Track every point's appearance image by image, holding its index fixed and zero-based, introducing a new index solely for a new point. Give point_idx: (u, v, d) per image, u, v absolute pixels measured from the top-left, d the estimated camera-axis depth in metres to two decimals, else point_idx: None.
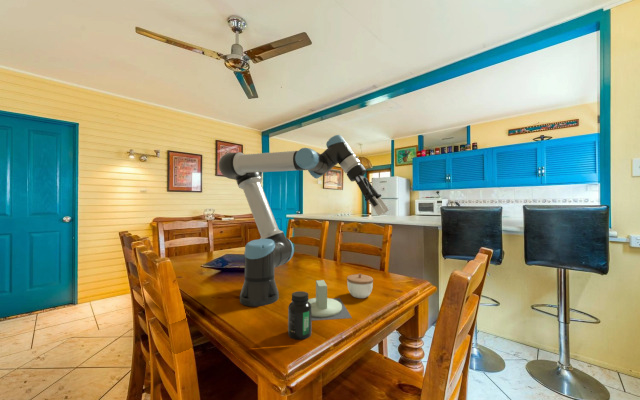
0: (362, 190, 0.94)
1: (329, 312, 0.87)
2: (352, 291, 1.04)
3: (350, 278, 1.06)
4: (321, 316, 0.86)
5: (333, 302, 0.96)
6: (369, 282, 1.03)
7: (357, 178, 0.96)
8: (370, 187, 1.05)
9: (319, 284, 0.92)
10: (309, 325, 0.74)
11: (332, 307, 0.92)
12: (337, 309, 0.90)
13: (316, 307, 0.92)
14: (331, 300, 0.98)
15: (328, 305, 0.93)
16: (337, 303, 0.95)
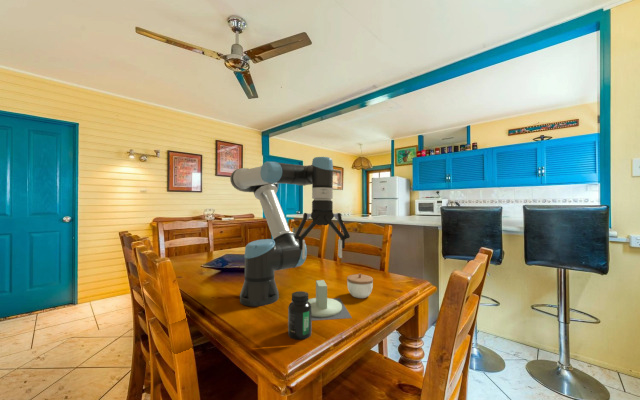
0: (297, 229, 0.93)
1: (329, 312, 0.87)
2: (352, 291, 1.04)
3: (350, 278, 1.06)
4: (321, 316, 0.86)
5: (333, 302, 0.96)
6: (369, 282, 1.03)
7: (303, 215, 0.93)
8: (331, 226, 0.94)
9: (319, 284, 0.92)
10: (309, 325, 0.74)
11: (332, 307, 0.92)
12: (337, 309, 0.90)
13: (316, 307, 0.92)
14: (331, 300, 0.98)
15: (328, 305, 0.93)
16: (337, 303, 0.95)
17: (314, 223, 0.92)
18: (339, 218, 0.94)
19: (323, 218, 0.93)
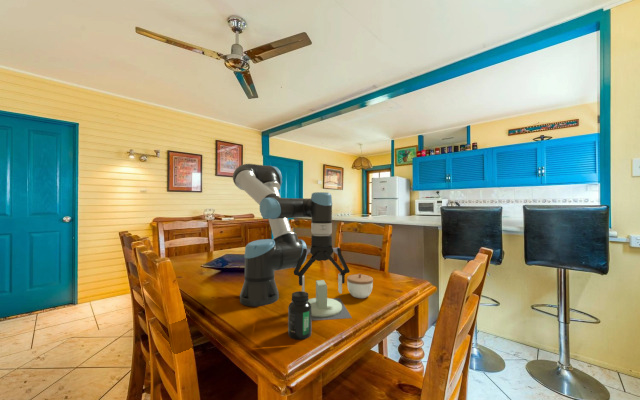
0: (297, 264, 0.93)
1: (329, 312, 0.87)
2: (352, 291, 1.04)
3: (350, 278, 1.06)
4: (321, 316, 0.86)
5: (333, 302, 0.96)
6: (369, 282, 1.03)
7: (303, 250, 0.93)
8: (331, 261, 0.93)
9: (319, 284, 0.92)
10: (309, 325, 0.74)
11: (332, 307, 0.92)
12: (337, 309, 0.90)
13: (316, 307, 0.92)
14: (331, 300, 0.98)
15: (328, 305, 0.93)
16: (337, 303, 0.95)
17: (313, 259, 0.92)
18: (339, 253, 0.94)
19: (323, 253, 0.93)
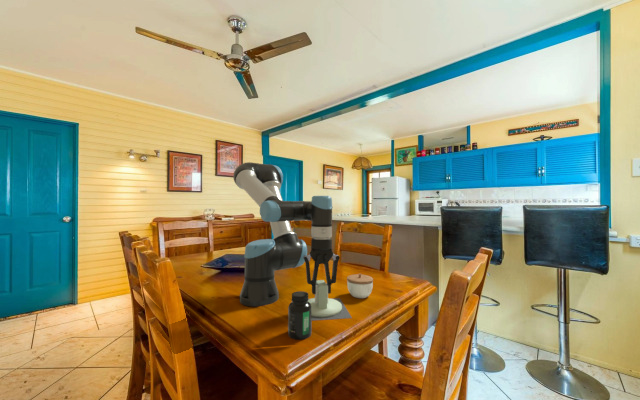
0: (306, 273, 0.94)
1: (329, 312, 0.87)
2: (352, 291, 1.04)
3: (350, 278, 1.06)
4: (321, 316, 0.86)
5: (333, 302, 0.96)
6: (369, 282, 1.03)
7: (304, 259, 0.93)
8: (325, 266, 0.93)
9: (319, 284, 0.92)
10: (309, 325, 0.74)
11: (332, 307, 0.92)
12: (337, 309, 0.90)
13: (316, 307, 0.92)
14: (331, 300, 0.98)
15: (328, 305, 0.93)
16: (337, 303, 0.95)
17: (317, 264, 0.92)
18: (336, 261, 0.93)
19: (322, 255, 0.93)
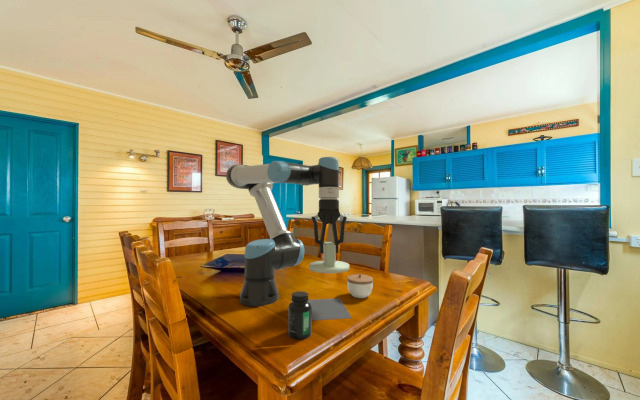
0: (314, 233, 0.96)
1: (336, 268, 0.89)
2: (352, 291, 1.04)
3: (350, 278, 1.06)
4: (329, 272, 0.88)
5: (341, 263, 0.98)
6: (369, 282, 1.03)
7: None
8: (332, 226, 0.95)
9: (327, 243, 0.94)
10: (309, 325, 0.74)
11: (340, 266, 0.93)
12: (344, 267, 0.92)
13: (324, 266, 0.93)
14: (339, 262, 1.00)
15: (336, 264, 0.95)
16: (345, 263, 0.97)
17: (324, 224, 0.94)
18: (343, 221, 0.95)
19: (329, 215, 0.95)
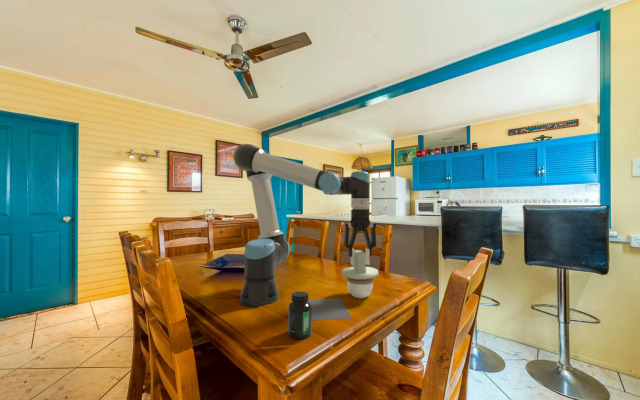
0: (344, 238, 1.07)
1: (369, 275, 1.01)
2: (352, 291, 1.04)
3: None
4: (363, 278, 1.00)
5: (369, 268, 1.10)
6: (369, 282, 1.03)
7: (344, 225, 1.07)
8: (364, 233, 1.07)
9: (358, 252, 1.06)
10: (309, 325, 0.74)
11: (370, 271, 1.05)
12: (375, 272, 1.04)
13: (356, 272, 1.05)
14: (367, 267, 1.12)
15: (366, 270, 1.07)
16: (373, 269, 1.09)
17: (356, 230, 1.06)
18: (373, 227, 1.07)
19: (361, 224, 1.06)
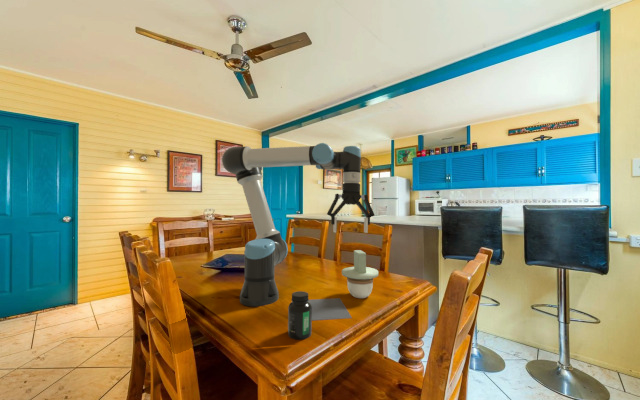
0: (330, 207, 1.10)
1: (369, 275, 1.01)
2: (352, 291, 1.04)
3: (350, 278, 1.06)
4: (363, 278, 1.00)
5: (369, 269, 1.10)
6: (369, 282, 1.03)
7: (335, 195, 1.09)
8: (358, 205, 1.10)
9: (358, 252, 1.06)
10: (309, 325, 0.74)
11: (370, 272, 1.05)
12: (375, 273, 1.04)
13: (356, 272, 1.05)
14: (367, 268, 1.12)
15: (366, 271, 1.07)
16: (373, 269, 1.09)
17: (344, 202, 1.08)
18: (365, 199, 1.10)
19: (352, 198, 1.09)
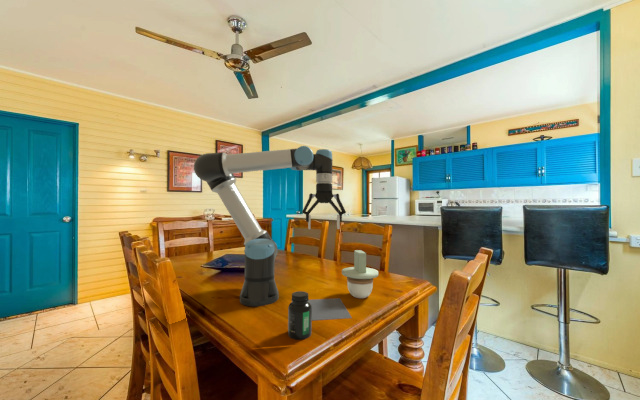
0: None
1: (369, 275, 1.01)
2: (352, 291, 1.04)
3: (350, 278, 1.06)
4: (362, 277, 1.00)
5: (369, 269, 1.10)
6: (369, 282, 1.03)
7: (309, 195, 1.19)
8: (331, 204, 1.19)
9: (358, 252, 1.06)
10: (309, 325, 0.74)
11: (370, 272, 1.05)
12: (375, 273, 1.03)
13: (356, 272, 1.05)
14: (367, 268, 1.12)
15: (366, 271, 1.07)
16: (373, 270, 1.09)
17: (318, 201, 1.17)
18: (337, 197, 1.19)
19: (325, 197, 1.19)
